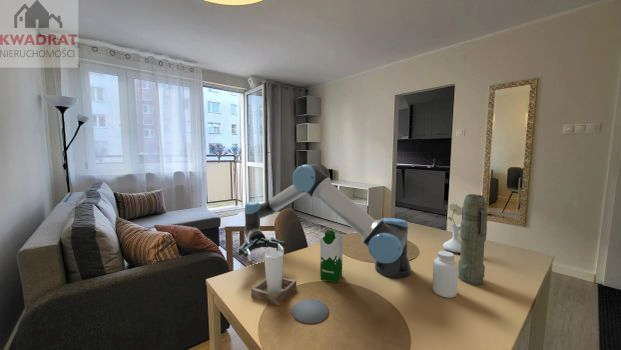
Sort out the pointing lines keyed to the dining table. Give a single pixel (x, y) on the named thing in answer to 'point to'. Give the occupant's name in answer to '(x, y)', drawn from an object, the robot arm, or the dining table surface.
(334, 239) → the milk carton
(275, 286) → the drinking glass
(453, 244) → the flower in vase
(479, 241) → the thermos
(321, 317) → the rubber coaster
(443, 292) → the pill bottle
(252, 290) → the walnut collar
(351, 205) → the robot arm
